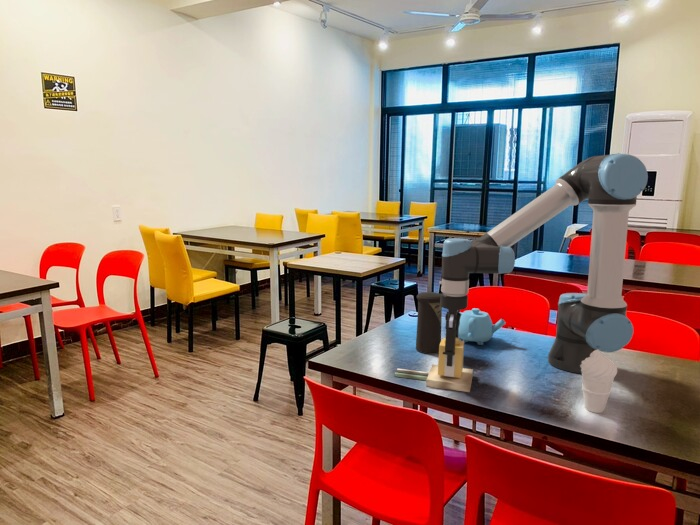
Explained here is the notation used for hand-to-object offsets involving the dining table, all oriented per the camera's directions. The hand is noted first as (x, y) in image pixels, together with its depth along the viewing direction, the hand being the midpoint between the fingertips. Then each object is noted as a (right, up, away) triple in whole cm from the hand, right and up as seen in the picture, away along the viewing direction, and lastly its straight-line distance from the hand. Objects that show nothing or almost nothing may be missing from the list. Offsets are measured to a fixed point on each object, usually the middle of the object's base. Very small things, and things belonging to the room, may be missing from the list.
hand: (450, 371), depth 140 cm
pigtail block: (-5, -3, +2) cm, 6 cm away
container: (-2, +1, +26) cm, 26 cm away
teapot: (+17, +3, +37) cm, 40 cm away
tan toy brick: (0, 0, 0) cm, 0 cm away
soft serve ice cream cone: (+33, -6, -16) cm, 38 cm away
